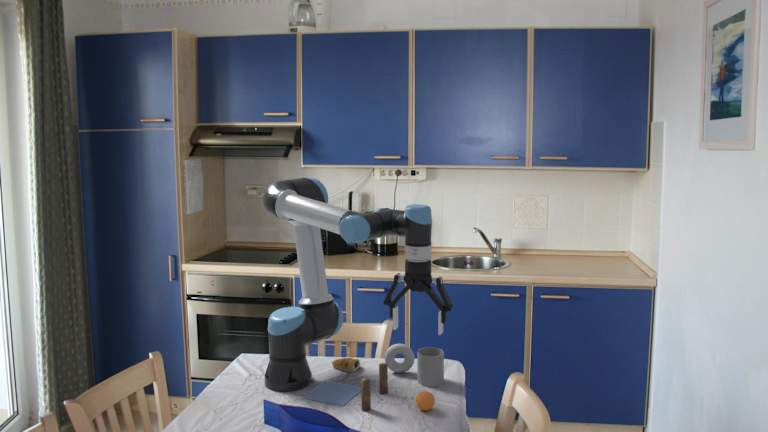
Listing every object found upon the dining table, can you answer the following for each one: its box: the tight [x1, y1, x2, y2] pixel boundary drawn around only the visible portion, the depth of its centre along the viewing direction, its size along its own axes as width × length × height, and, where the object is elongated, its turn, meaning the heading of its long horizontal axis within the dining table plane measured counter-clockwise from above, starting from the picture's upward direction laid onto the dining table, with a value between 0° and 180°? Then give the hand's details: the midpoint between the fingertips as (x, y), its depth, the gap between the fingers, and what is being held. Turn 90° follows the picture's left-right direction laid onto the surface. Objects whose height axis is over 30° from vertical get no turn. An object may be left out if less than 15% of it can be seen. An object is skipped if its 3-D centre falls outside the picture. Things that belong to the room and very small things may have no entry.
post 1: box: [360, 377, 372, 412], centre depth 192 cm, size 3×3×9 cm
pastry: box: [331, 357, 361, 373], centre depth 225 cm, size 9×7×4 cm
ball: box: [415, 390, 436, 412], centre depth 192 cm, size 6×6×6 cm
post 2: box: [378, 362, 389, 395], centre depth 204 cm, size 3×3×9 cm
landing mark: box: [302, 380, 361, 407], centre depth 204 cm, size 14×14×1 cm
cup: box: [416, 346, 445, 388], centre depth 212 cm, size 8×8×10 cm
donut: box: [384, 343, 416, 374], centre depth 219 cm, size 10×4×10 cm, turn 86°
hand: (417, 331), depth 192 cm, fingers open, 13 cm apart
